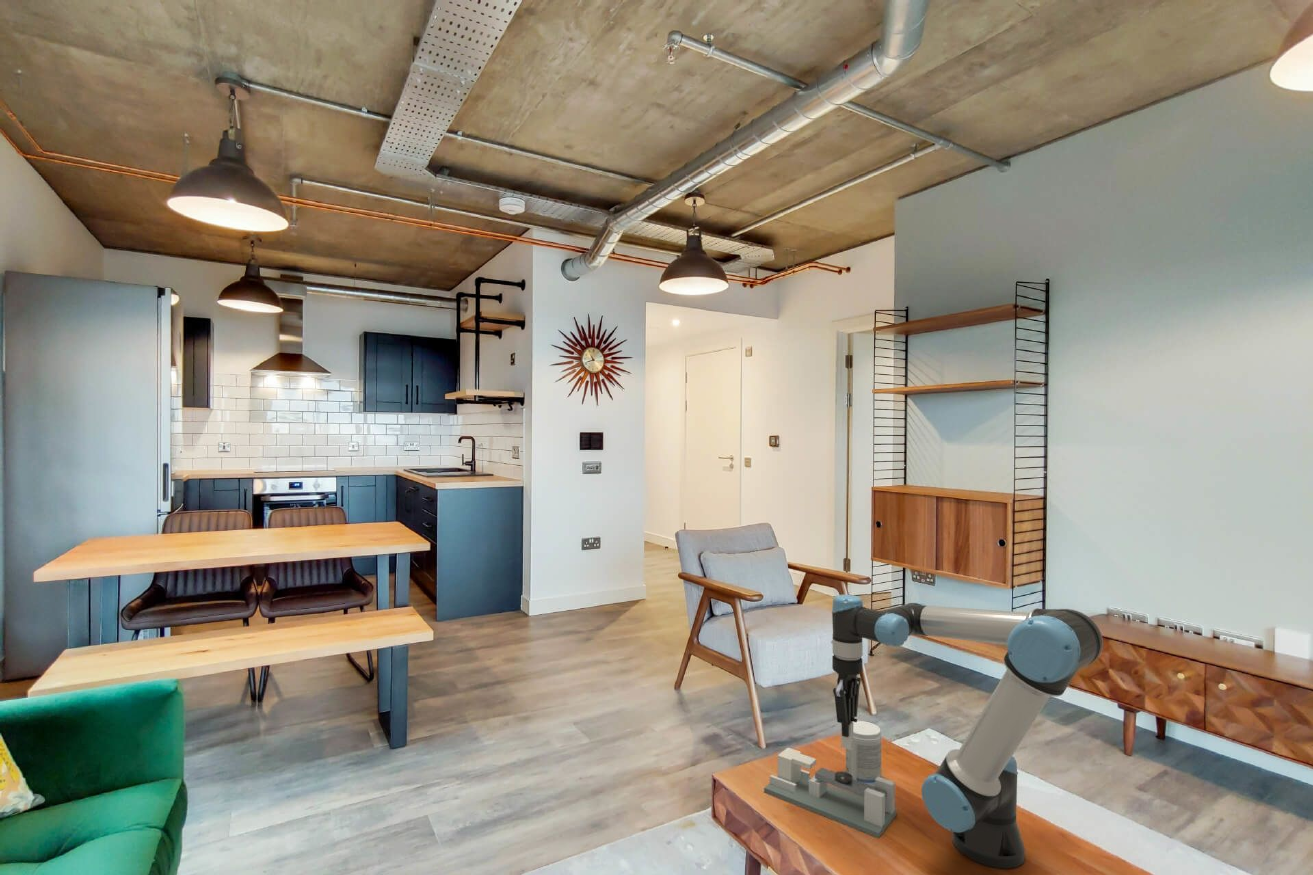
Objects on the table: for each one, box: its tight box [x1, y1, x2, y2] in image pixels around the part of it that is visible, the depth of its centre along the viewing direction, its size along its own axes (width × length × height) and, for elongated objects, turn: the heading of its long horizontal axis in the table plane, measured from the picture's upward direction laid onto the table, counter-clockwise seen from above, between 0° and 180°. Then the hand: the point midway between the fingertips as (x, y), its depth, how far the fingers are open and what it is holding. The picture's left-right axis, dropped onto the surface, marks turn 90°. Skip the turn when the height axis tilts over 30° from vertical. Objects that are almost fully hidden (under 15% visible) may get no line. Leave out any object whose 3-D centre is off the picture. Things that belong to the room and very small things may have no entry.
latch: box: [776, 747, 817, 784], centre depth 175 cm, size 9×6×8 cm, turn 51°
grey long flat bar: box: [814, 767, 887, 798], centre depth 166 cm, size 18×4×2 cm, turn 51°
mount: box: [763, 768, 898, 839], centre depth 169 cm, size 31×13×8 cm, turn 51°
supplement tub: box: [845, 720, 882, 787], centre depth 181 cm, size 10×10×15 cm
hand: (847, 747), depth 167 cm, fingers closed
